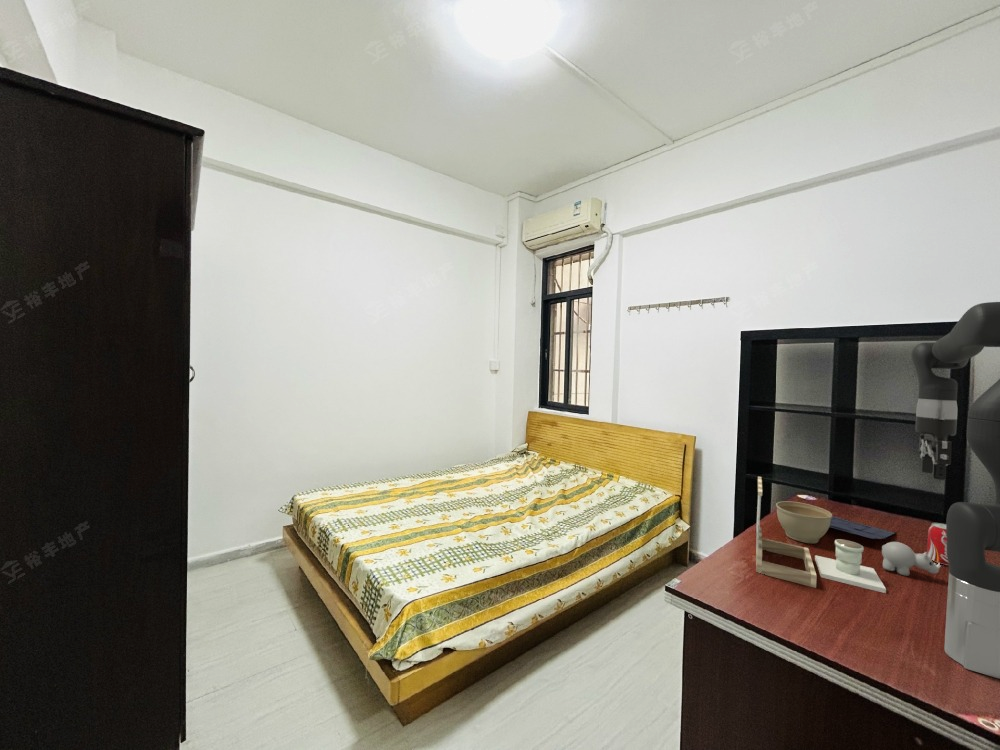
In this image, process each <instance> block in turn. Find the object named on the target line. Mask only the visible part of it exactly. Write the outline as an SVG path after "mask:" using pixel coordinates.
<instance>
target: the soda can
mask: <svg viewBox="0 0 1000 750" xmlns="http://www.w3.org/2000/svg"><path fill="white" fill-rule="evenodd" d="M926 545H927V546H926V549H927V550H926V552H927V556H929V557H930V558H931V560H933V561H935V562H937V563H941V564H945V565H949V562H948V558H947V530H946V523H939V522H932V523H931V525H930V526H929V527H928V532H927V544H926ZM933 561H932V562H933ZM935 562H934V563H935ZM937 563H936V564H937Z"/></svg>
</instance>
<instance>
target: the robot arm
mask: <svg viewBox="0 0 1000 750" xmlns="http://www.w3.org/2000/svg"><path fill="white" fill-rule="evenodd" d="M984 348H1000V301H990V302H989V301H988V302H981V303H978V304H975V305H973V306H971V307H969V309H967V311H965V312H964V313H963V315H962V316H961V317H960V319H959V320H958V321H957V322H956V324H955V325H954V326H953V328H952V329H951V331H950V332H948V333H947V334H945V335H944V336H942V337H940V338H939V339H937V340H936V341H935V342H921V343H918V344H916V345H915V346H914V347H913V348H912V350H911V353H910V354H911V360H912V361H911V362H912V363H913V366H914V369H915V371H916V376H917V380H918V397H917V398H918V399H917V404H916V409H915V410H916V411H915V413H916V414H915V424H914V425H915V427H914V428H915V429H914V431H915V432H916V433H920V434H919V441H918V442H919V443H918V452H917V454H918V455H919V457H920V459H921V465H920V466H921V467H920V471H921V472H922V473H926V474H932V475H931V476H932V478H933V479H934V480H941V481H944V480H946V474H947V466H948V465H952V449H953V448H952V445H953V443H952V441H949V440H946V437H947V436H949V437H953V436H955V435H957V425H958V403H957V400H958V381H957V380H956V379H954V378H949V377H944V376H939V375H937V374H935V373H934V372H933V370H932V369H935V370H937V369H941V370H944V369H945V370H946V369H947V370H955V369H956V370H957V369H962V368H965V367H966V366H967V364H968V363H969V361H970V358H973V357H975V356H977V355H979V354H980V353H981V352H982V351H983V350H984ZM967 414H968V415H967V421H966V422H967V425H966V440H967V444H968V445H969V447H970V449H971V450H972V452H973V454H974V455H975V456H976V458H977V459H978V460H979V461H980V463H981V464H982V465H983V466H984V468H985V469H986V470H987V472H988V473H989V475H990V476H991V478H992V480H993V484H994V489H995V503H994V504H985V503H984V504H983V503H975V502H968V501H967V502H964V501H957V502H955V503H952V504H951V505H950V507H949V509H948V510H947V513H946V522H945V524H946V530H947V558H948V562H949V566H948V582H947V583H948V586H947V596H946V597H947V598H946V599H947V601H946V613H945V615H946V616H945V633H944V647H943V648H944V649H943V650H944V652H945V654H946V655H947V656H948V657H950V658H951V659H952V660H953V661H955V662H957V663H958V664H959V665H962V666H963V668H964V669H966V670H969V671H972V672H975V673H980V674H983V675H985V676H989V677H992V678H995V679H1000V566H998V565H996V564H993V563H991V562H989V561H987V559H986V551H990V552H997V553H998V552H999V553H1000V378H999V379H997V380H996V382H995V383H994V384H992V385H991V386H990V387H989V388H987V389H986V390H985V391H984V392H983V393H982V394H981V395H980V396H979V397H978V398H977V399H976V400H975V401H974V402H973V403H972V404H971V406H970V407H969V410H968V413H967Z"/></svg>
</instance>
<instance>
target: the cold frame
mask: <svg viewBox="0 0 1000 750" xmlns="http://www.w3.org/2000/svg"><path fill="white" fill-rule="evenodd" d="M762 497H763V480H762V476H757V507H756V509H757V510H756V544H755V551H756V553H755V556H756V557H755V561H756V562H755V563H756V565H755V567H756V568H755V571H756V572H758V573H757V574H760V573H761V574H760V575H764V574H765V576H769V577H772V578H777V579H779V580H780V579H781V580H785V581H787V582H791V583H795V584H799V585H803V586H806V587H811V588H814V589H816V588H817V575H818V574H817V573H816V569H815V566H814V563H813V559H812V556H811V553H810V549H809V548H808V547H805V546H804V547H803V546H800V545H795V544H791V543H787V542H786V543H785V542H782V541H777V540H772V539H768V538H763V537H762V536H763V534H762V533H763V532H762V531H763V530H762V527H760V523H761V521H760V519H761V506H762V505H761V502H762ZM765 550H766V552H771V553H775V554H780V555H784V556H788V557H792V558H797V559H801V560H803V564H804V567H805V570H801V569H797V568H794V567H789V566H787V565H782V564H777V563H773V562H769V561H765V560H763V551H765Z"/></svg>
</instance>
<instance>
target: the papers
mask: <svg viewBox="0 0 1000 750" xmlns="http://www.w3.org/2000/svg"><path fill="white" fill-rule="evenodd" d="M834 516H835V515H832V518H831V522H830V526H829V528H833V529H835V530H839V531H843V532H847V533H849V534H853V535H854V534H855V535H858V536H861V537H864V538H869V539H872V540H875V539H879V540H882V539H886V538H888V537H889V536H892V535H894V534H895V533H894V532H890V531H887V530H888V529H887V530H883V529H884V528H883V529H879V528H880V527H879V528H876V527H877V526H875V527H871V526H872V525H871V526H867V525H868V524H867V525H863V524H864V523H862V524H859V523H860V522H858V523H855V522H856V521H855V522H851V521H852V520H851V521H848V520H849V519H847V520H844V519H845V518H843V519H841V518H842V517H839V516H835V517H834ZM838 517H839V518H838Z"/></svg>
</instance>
